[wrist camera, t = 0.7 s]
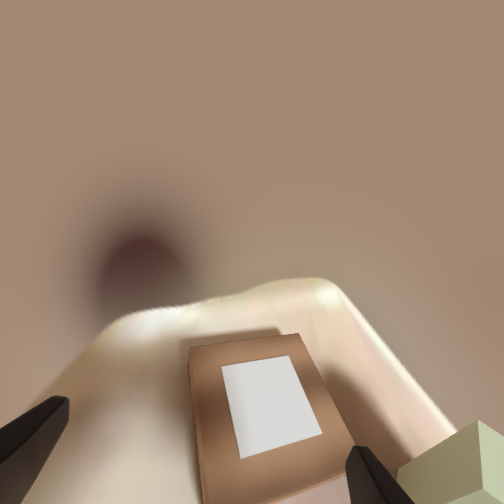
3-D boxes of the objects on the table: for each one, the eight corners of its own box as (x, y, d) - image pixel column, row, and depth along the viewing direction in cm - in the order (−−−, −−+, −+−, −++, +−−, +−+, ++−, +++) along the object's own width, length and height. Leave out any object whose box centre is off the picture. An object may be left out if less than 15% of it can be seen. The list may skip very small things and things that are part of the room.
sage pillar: (453, 513, 21) (562, 474, 15) (453, 585, 18) (591, 569, 12) (397, 468, 23) (477, 419, 17) (388, 526, 19) (483, 488, 14)
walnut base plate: (347, 474, 21) (365, 461, 20) (205, 530, 17) (211, 519, 15) (290, 348, 30) (298, 332, 29) (187, 364, 26) (190, 346, 24)
